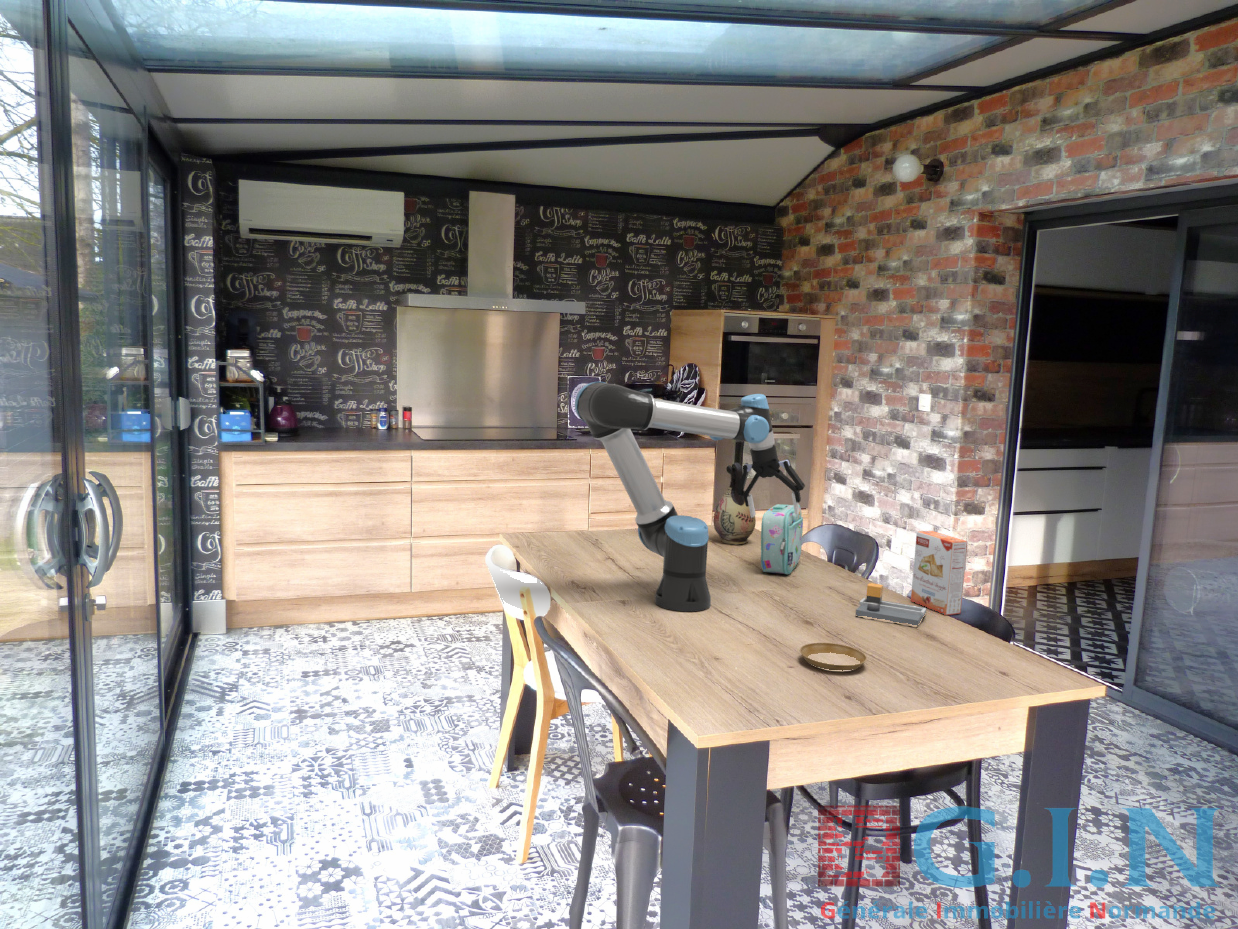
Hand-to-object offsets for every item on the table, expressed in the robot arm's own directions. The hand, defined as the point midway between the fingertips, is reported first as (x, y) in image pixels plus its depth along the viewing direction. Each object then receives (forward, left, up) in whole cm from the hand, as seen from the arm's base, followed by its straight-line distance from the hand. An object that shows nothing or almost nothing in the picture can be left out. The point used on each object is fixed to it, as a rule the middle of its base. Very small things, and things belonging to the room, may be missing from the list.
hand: (775, 514), depth 264 cm
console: (-12, -38, -21) cm, 45 cm away
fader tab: (-11, -33, -19) cm, 40 cm away
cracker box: (+4, -47, -22) cm, 52 cm away
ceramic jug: (+49, +30, -22) cm, 62 cm away
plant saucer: (-59, -34, -22) cm, 71 cm away
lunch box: (+21, +4, -22) cm, 31 cm away
